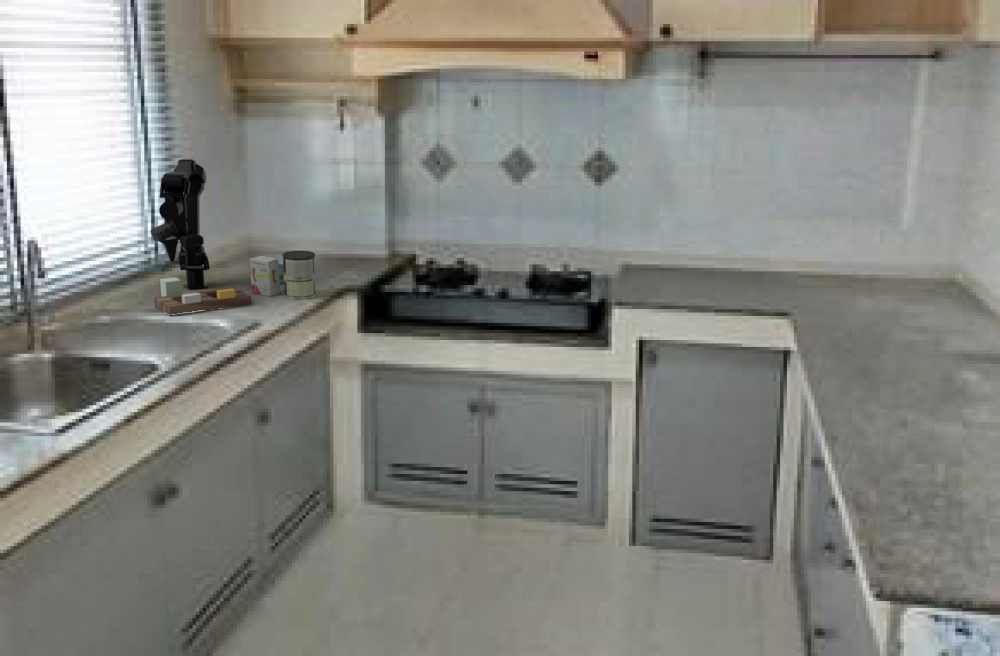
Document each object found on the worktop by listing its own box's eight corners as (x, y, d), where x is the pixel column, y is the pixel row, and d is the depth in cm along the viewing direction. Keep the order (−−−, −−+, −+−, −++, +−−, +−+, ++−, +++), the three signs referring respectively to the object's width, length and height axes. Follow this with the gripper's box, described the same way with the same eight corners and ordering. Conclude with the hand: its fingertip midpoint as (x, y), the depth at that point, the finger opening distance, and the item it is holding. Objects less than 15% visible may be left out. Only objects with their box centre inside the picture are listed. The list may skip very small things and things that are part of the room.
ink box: (250, 292, 325) (249, 257, 322) (261, 290, 329) (260, 255, 326) (269, 296, 321) (268, 261, 318) (280, 293, 325) (279, 258, 322)
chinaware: (244, 279, 343) (243, 258, 341) (284, 274, 352) (283, 253, 350) (262, 288, 332) (261, 266, 330) (303, 283, 340) (302, 261, 338)
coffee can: (277, 295, 323) (276, 253, 319) (304, 290, 330) (303, 249, 326) (295, 301, 316) (294, 258, 312) (322, 296, 323) (321, 254, 319)
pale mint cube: (161, 300, 313) (160, 279, 311) (177, 298, 316) (175, 277, 314) (167, 303, 309) (165, 282, 307) (182, 301, 312) (181, 280, 310)
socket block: (154, 307, 305) (153, 290, 304) (234, 296, 320) (234, 280, 319) (169, 316, 295) (168, 298, 294) (251, 304, 311) (250, 288, 309)
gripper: (137, 213, 304) (141, 263, 309) (170, 222, 293) (174, 273, 297) (169, 209, 312) (172, 257, 317) (203, 217, 301) (206, 267, 306)
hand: (180, 263), depth 309 cm, fingers open, 9 cm apart
